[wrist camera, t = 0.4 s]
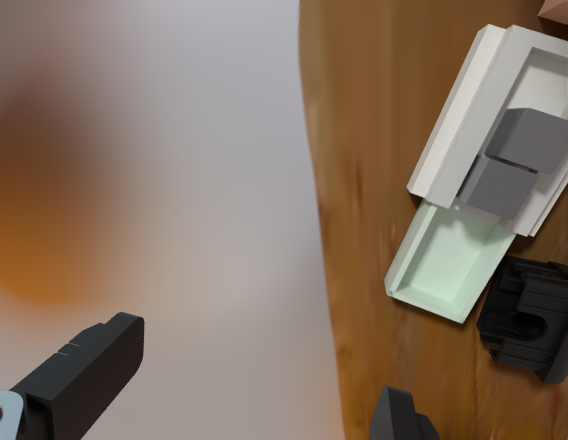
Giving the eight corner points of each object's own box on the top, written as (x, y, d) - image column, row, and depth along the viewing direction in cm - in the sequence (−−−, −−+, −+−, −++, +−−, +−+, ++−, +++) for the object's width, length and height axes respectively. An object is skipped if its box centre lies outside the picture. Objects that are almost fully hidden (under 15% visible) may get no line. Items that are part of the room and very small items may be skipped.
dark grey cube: (473, 153, 31) (490, 158, 27) (516, 168, 31) (539, 175, 27) (452, 193, 32) (465, 204, 29) (494, 208, 32) (513, 220, 28)
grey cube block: (506, 108, 30) (529, 107, 26) (552, 123, 29) (582, 125, 25) (483, 153, 31) (502, 158, 27) (527, 168, 31) (552, 175, 27)
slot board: (478, 31, 30) (496, 19, 27) (614, 74, 29) (653, 67, 26) (406, 187, 35) (413, 195, 32) (521, 228, 34) (542, 242, 31)
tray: (425, 194, 35) (432, 202, 32) (501, 221, 35) (517, 232, 31) (383, 279, 39) (386, 294, 35) (452, 305, 38) (462, 323, 35)
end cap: (540, 346, 38) (579, 392, 31) (473, 331, 39) (497, 373, 32) (577, 264, 34) (629, 297, 28) (503, 249, 35) (536, 279, 29)
